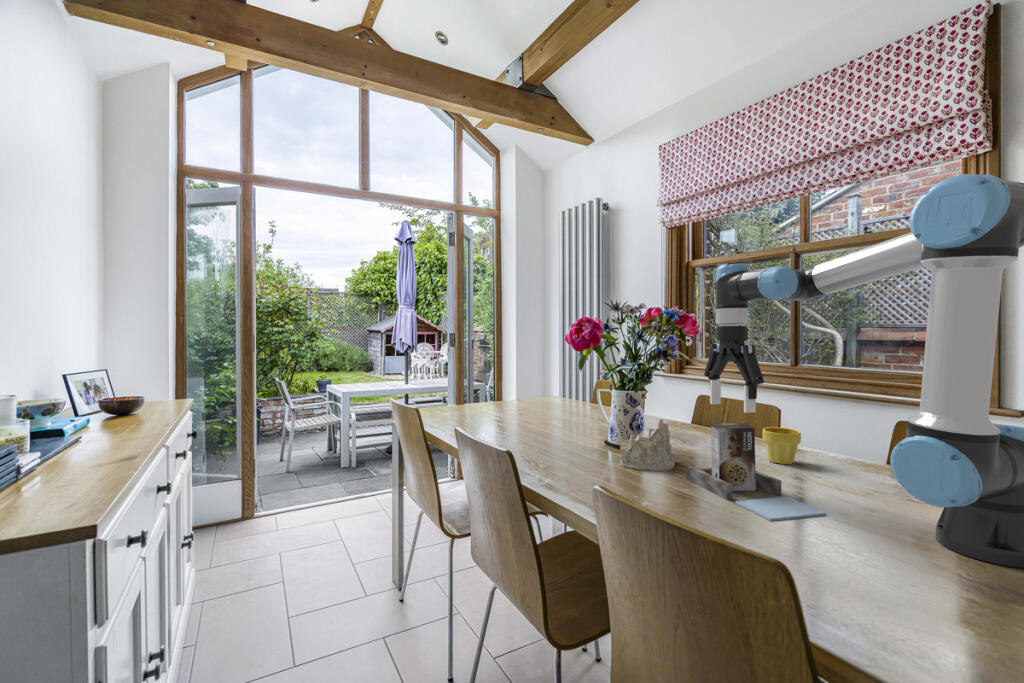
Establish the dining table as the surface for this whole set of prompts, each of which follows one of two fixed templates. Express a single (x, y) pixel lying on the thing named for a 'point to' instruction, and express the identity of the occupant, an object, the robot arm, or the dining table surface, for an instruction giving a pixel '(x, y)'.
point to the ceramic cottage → (649, 450)
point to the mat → (780, 508)
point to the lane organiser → (725, 489)
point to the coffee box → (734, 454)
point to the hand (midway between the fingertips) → (731, 408)
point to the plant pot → (781, 444)
